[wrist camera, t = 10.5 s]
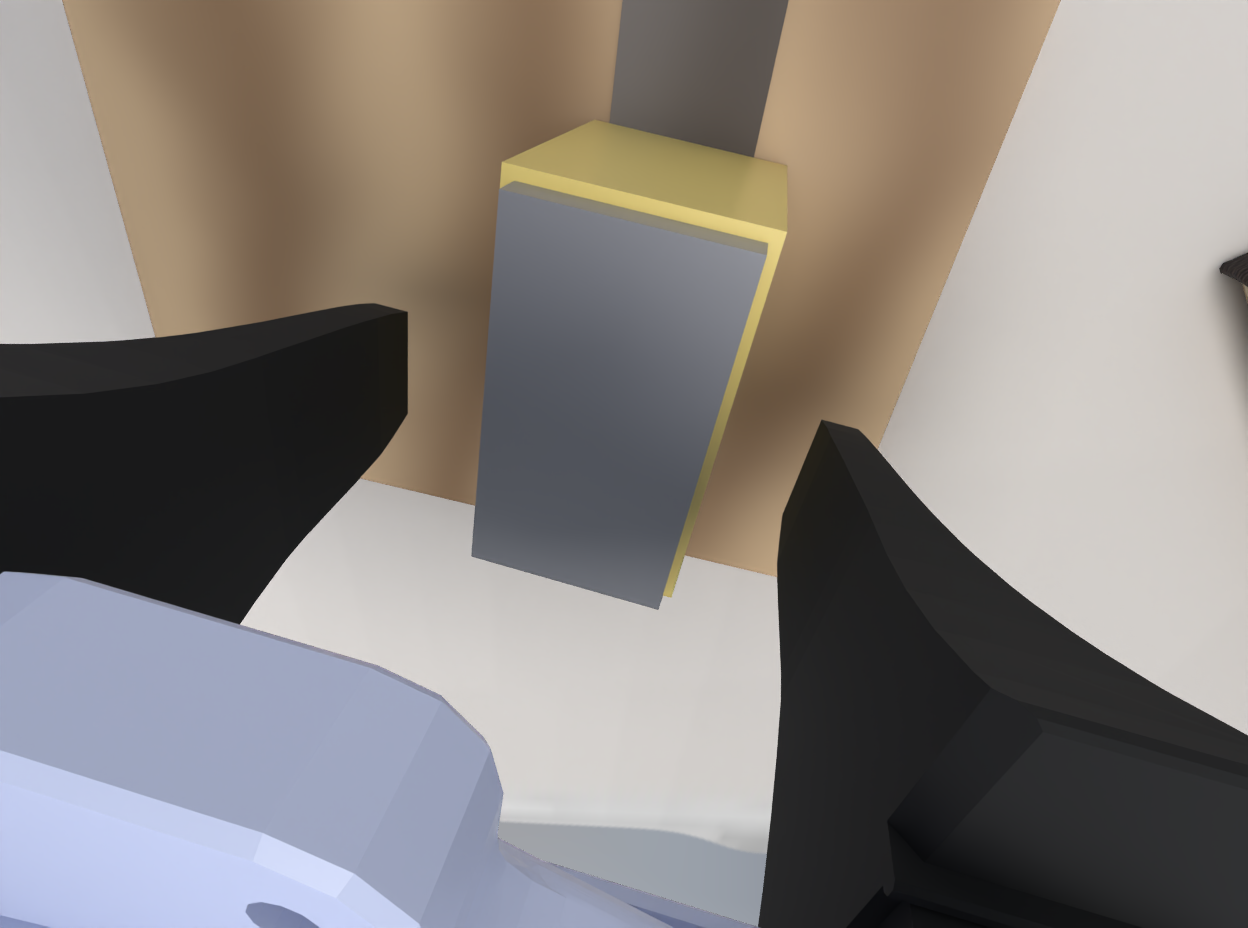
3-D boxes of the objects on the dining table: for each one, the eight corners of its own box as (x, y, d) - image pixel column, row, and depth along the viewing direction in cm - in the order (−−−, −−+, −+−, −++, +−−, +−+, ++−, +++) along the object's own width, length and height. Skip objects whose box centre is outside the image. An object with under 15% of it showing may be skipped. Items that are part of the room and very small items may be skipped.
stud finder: (552, 412, 18) (460, 561, 13) (594, 119, 14) (485, 169, 9) (700, 452, 17) (666, 619, 12) (787, 165, 13) (786, 243, 8)
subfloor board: (205, 420, 22) (177, 440, 21) (62, -151, 14) (5, -165, 13) (819, 564, 20) (821, 593, 19) (1044, -4, 12) (1067, -8, 11)
